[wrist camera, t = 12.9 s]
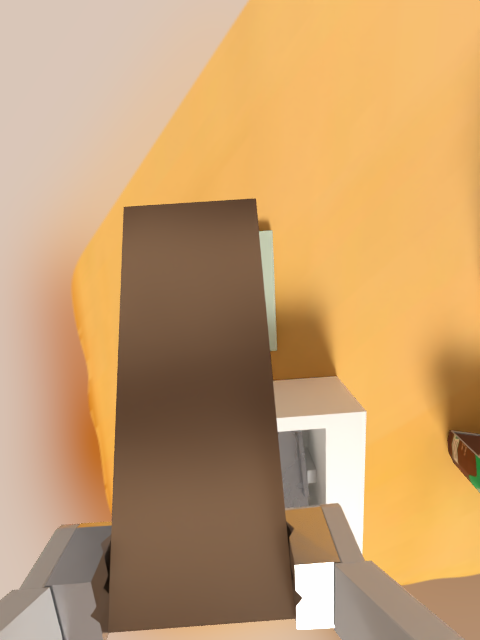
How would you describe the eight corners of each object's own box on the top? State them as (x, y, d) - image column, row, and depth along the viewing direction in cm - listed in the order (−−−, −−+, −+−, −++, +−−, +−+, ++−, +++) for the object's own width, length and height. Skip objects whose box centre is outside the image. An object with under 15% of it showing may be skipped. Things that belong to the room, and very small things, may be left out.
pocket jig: (197, 386, 31) (187, 424, 25) (336, 375, 32) (366, 411, 25) (210, 521, 35) (206, 587, 28) (336, 511, 35) (361, 574, 29)
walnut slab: (149, 249, 13) (123, 206, 10) (253, 243, 13) (256, 198, 10) (145, 571, 10) (107, 632, 7) (281, 561, 10) (295, 618, 7)
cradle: (242, 412, 32) (242, 413, 30) (295, 408, 32) (299, 409, 30) (251, 549, 29) (252, 561, 27) (311, 545, 29) (316, 556, 27)
